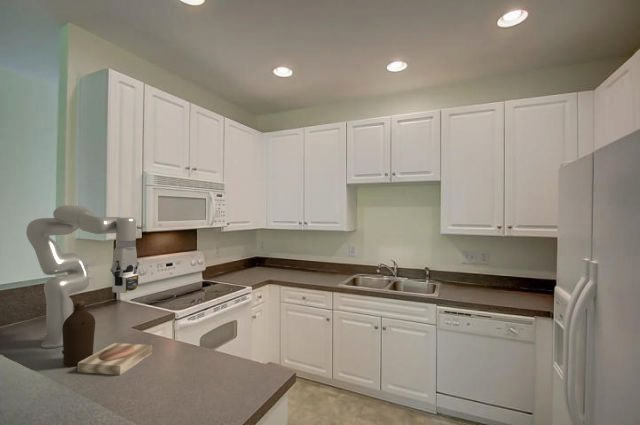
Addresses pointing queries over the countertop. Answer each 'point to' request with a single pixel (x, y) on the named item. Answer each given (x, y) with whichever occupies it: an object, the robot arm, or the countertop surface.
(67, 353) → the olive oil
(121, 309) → the countertop surface
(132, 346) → the stand
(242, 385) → the countertop surface
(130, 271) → the medicine bottle
